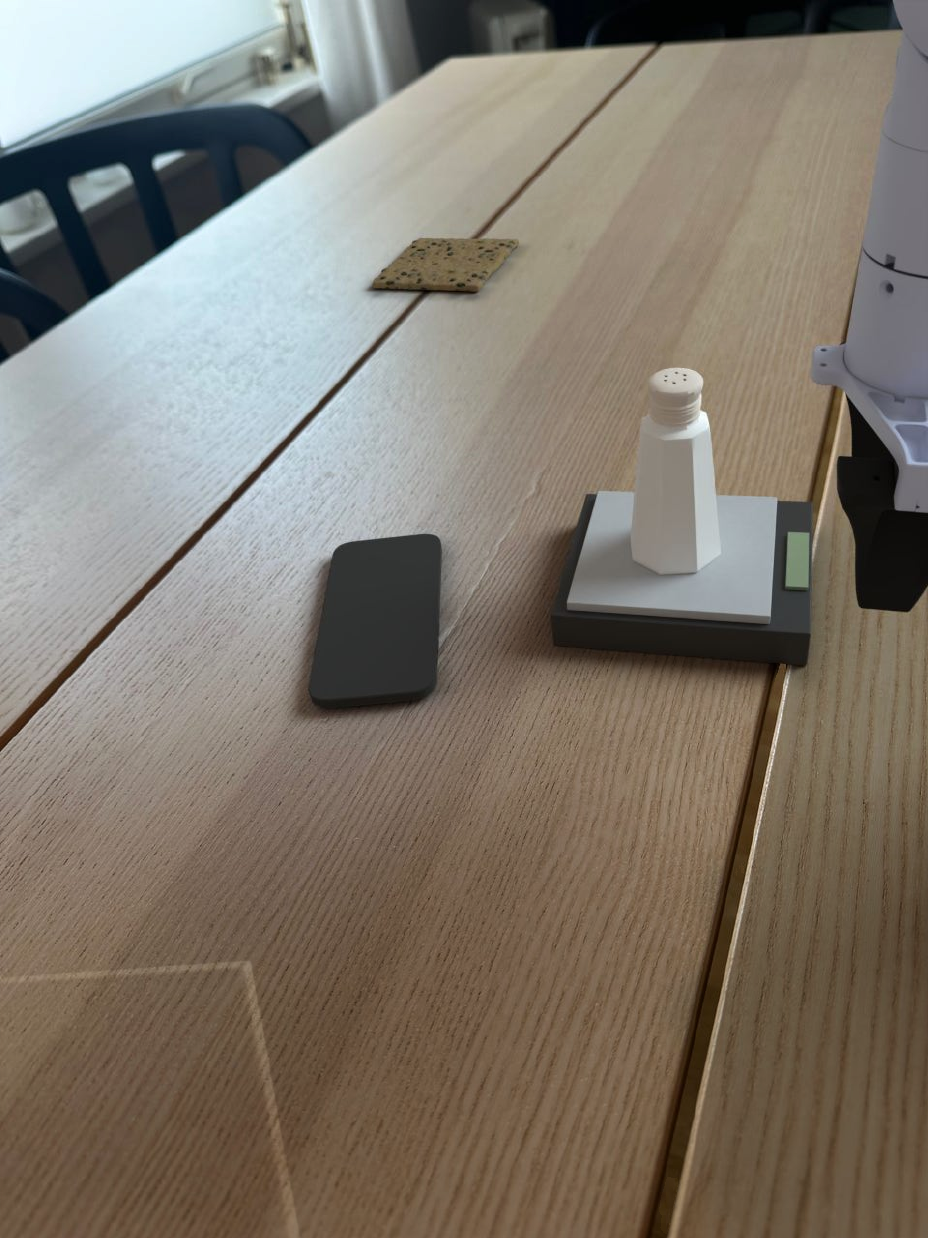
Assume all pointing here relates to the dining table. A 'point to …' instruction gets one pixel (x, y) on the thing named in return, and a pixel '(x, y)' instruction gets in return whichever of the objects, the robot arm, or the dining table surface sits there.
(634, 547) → the pepper shaker
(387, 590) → the phone
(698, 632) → the scale
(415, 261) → the cookie
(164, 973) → the dining table surface
